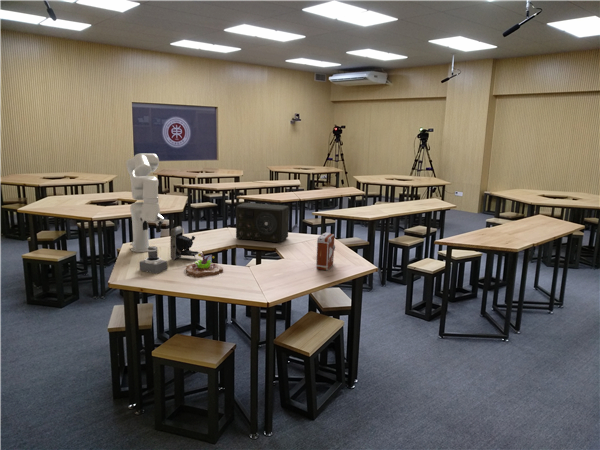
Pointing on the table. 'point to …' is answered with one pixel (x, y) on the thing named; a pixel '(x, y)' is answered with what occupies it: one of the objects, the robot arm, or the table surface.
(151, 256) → the lens
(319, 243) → the cine camera
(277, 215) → the vintage radio
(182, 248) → the vintage camera
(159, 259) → the grey hollow block
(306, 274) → the table surface
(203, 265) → the plant
